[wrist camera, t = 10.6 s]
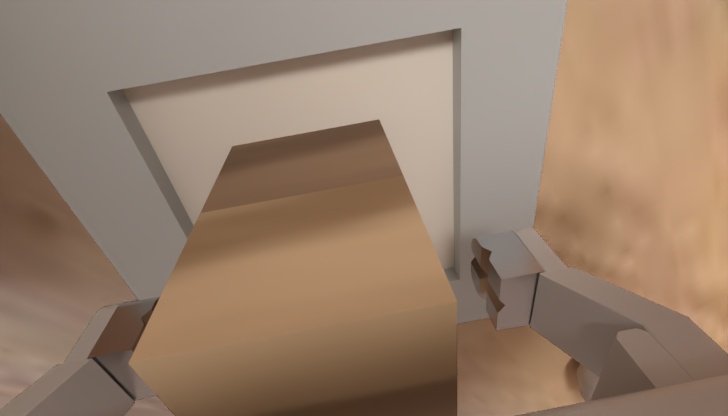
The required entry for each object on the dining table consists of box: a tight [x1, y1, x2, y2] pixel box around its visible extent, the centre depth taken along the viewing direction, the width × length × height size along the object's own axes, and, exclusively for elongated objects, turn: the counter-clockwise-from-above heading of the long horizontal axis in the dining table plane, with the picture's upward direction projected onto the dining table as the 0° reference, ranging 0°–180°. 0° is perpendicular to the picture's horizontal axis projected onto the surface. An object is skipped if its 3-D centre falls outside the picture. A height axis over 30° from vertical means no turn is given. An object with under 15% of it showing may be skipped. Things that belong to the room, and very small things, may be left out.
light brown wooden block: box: [128, 119, 457, 416], centre depth 10 cm, size 5×5×8 cm
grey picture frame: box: [0, 0, 568, 324], centre depth 14 cm, size 16×16×2 cm
